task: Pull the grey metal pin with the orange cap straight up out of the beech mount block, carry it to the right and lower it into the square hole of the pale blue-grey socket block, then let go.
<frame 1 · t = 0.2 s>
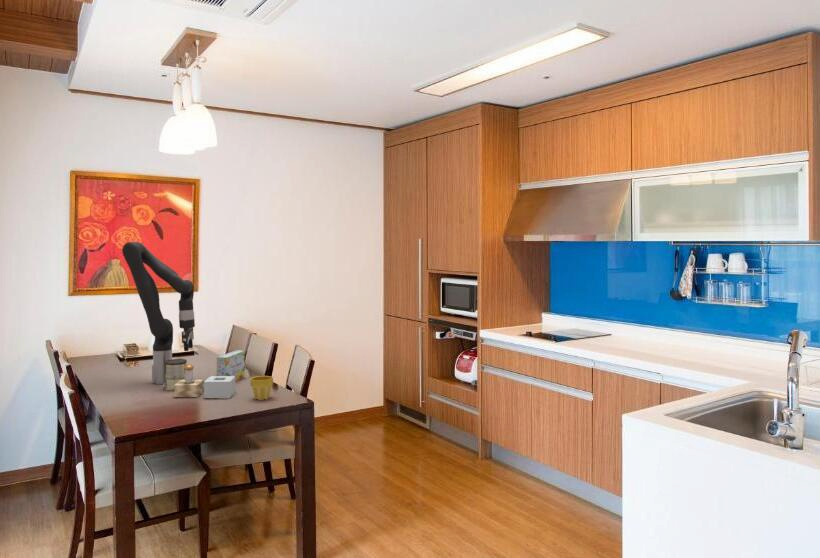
hand: (188, 349, 322), 17 cm above the table, tool pointing down, fingers open, 8 cm apart
coffee can: (176, 389, 310), on the table
pin: (189, 380, 297), in the mount
socket: (220, 395, 296), on the table
plant pot: (262, 398, 291), on the table
mount: (189, 394, 297), on the table
snack box: (231, 382, 325), on the table
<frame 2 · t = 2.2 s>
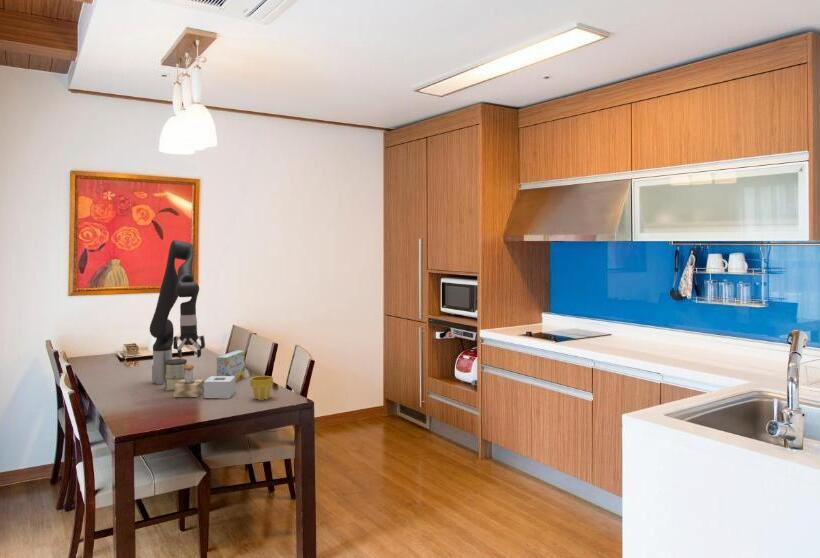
hand: (189, 357, 297), 18 cm above the table, tool pointing down, fingers open, 8 cm apart
nothing on the table moved.
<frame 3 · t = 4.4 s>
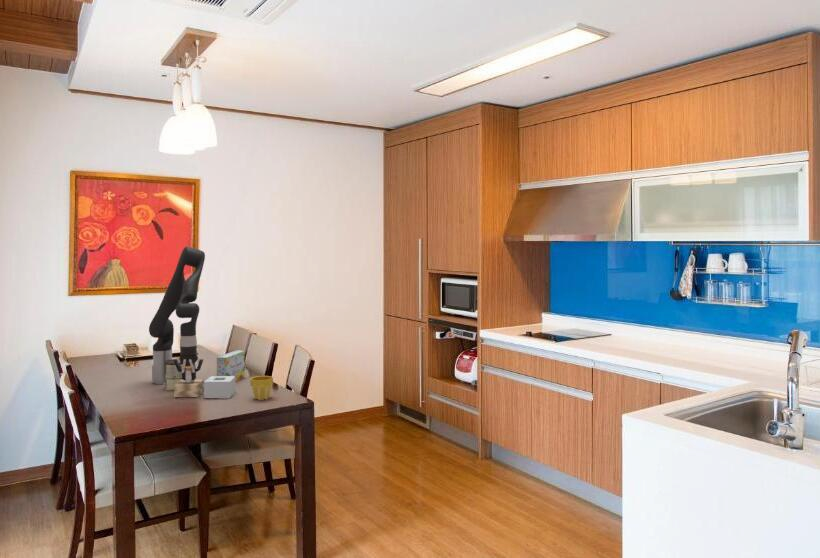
hand: (189, 379, 297), 7 cm above the table, tool pointing down, fingers closed on pin, 3 cm apart
pin: (189, 380, 297), in the mount, touching gripper
everything else where it was.
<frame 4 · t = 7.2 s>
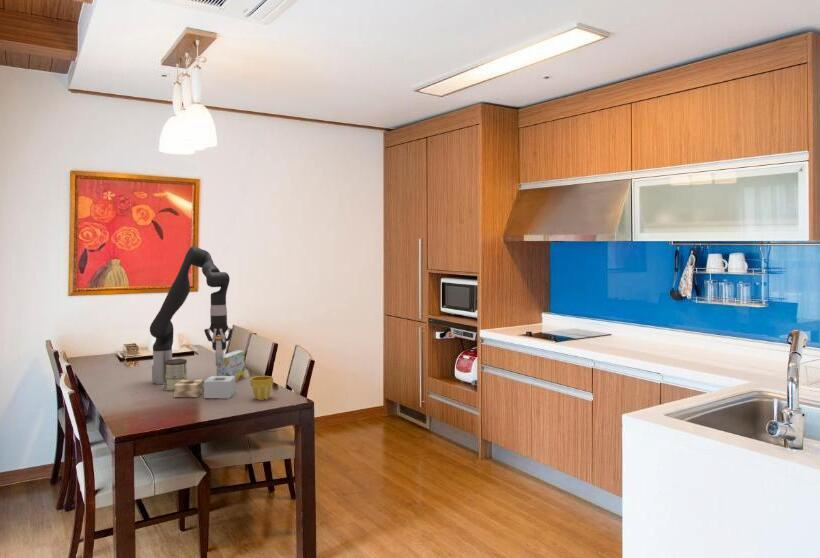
hand: (219, 349, 295), 22 cm above the table, tool pointing down, fingers closed on pin, 3 cm apart
pin: (219, 350, 295), point 22 cm above the table, touching gripper
everything else where it was.
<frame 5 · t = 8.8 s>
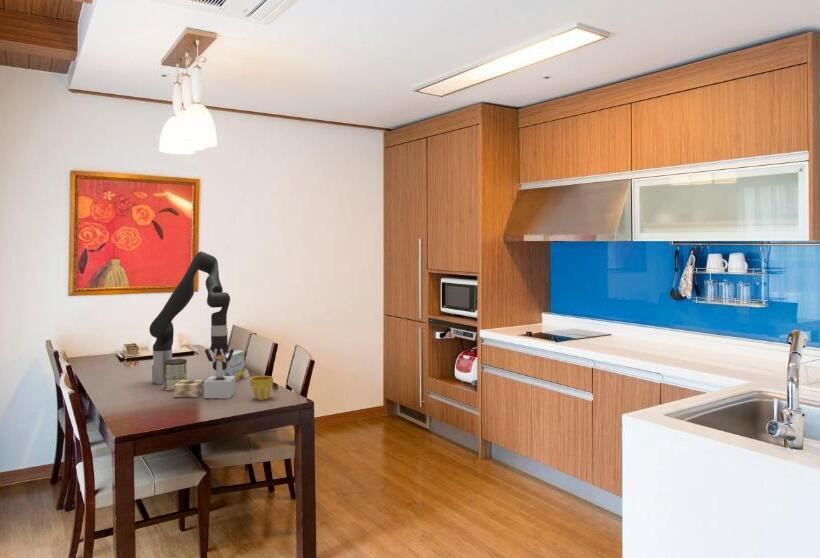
hand: (219, 369, 296), 12 cm above the table, tool pointing down, fingers closed on pin, 3 cm apart
pin: (219, 370, 296), point 12 cm above the table, touching gripper
everything else where it was.
when the fingers open (9 cm above the table, at t = 10.3 s): pin drops 2 cm, resting in socket.
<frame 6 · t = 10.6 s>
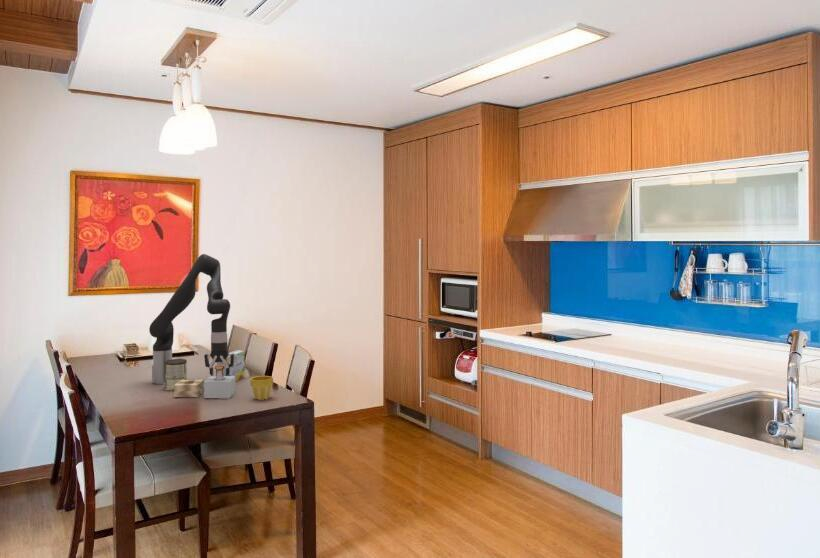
hand: (219, 375, 296), 10 cm above the table, tool pointing down, fingers open, 6 cm apart
pin: (219, 380, 296), in the socket
everything else where it was.
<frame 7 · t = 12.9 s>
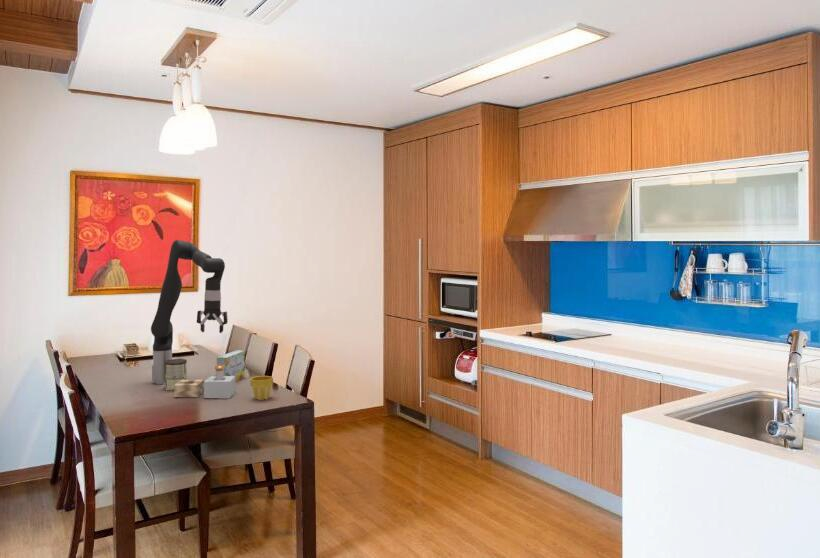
hand: (211, 332, 301), 29 cm above the table, tool pointing down, fingers open, 8 cm apart
nothing on the table moved.
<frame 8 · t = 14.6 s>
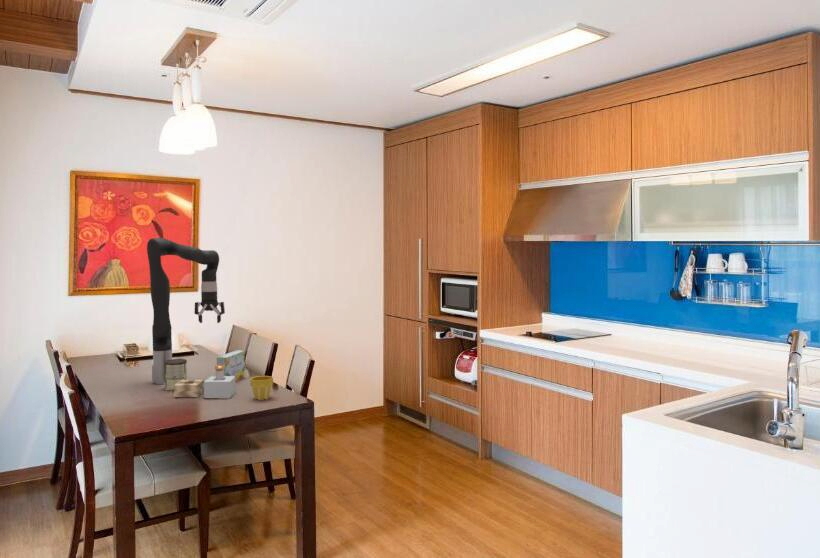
hand: (209, 322, 309), 33 cm above the table, tool pointing down, fingers open, 8 cm apart
nothing on the table moved.
at the end: pin 0.0 cm off-centre on the socket, point 7.1 cm above the socket's base; pin tilted 0°; the gripper is holding nothing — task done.
